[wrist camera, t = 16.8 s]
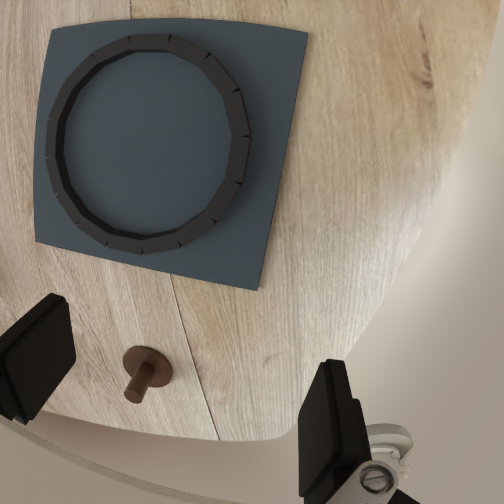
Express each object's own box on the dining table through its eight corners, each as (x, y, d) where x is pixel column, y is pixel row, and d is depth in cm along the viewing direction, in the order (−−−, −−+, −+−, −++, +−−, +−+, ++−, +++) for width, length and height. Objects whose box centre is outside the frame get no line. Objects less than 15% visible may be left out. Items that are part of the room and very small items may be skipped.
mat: (307, 34, 24) (308, 32, 23) (257, 288, 34) (256, 291, 33) (54, 30, 24) (51, 29, 24) (38, 240, 34) (35, 241, 33)
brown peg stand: (173, 353, 38) (159, 386, 33) (172, 389, 41) (160, 421, 35) (122, 339, 38) (103, 369, 33) (126, 376, 41) (110, 405, 35)
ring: (269, 46, 24) (268, 42, 23) (229, 266, 32) (227, 273, 31) (68, 43, 24) (59, 41, 23) (52, 229, 33) (45, 233, 31)
